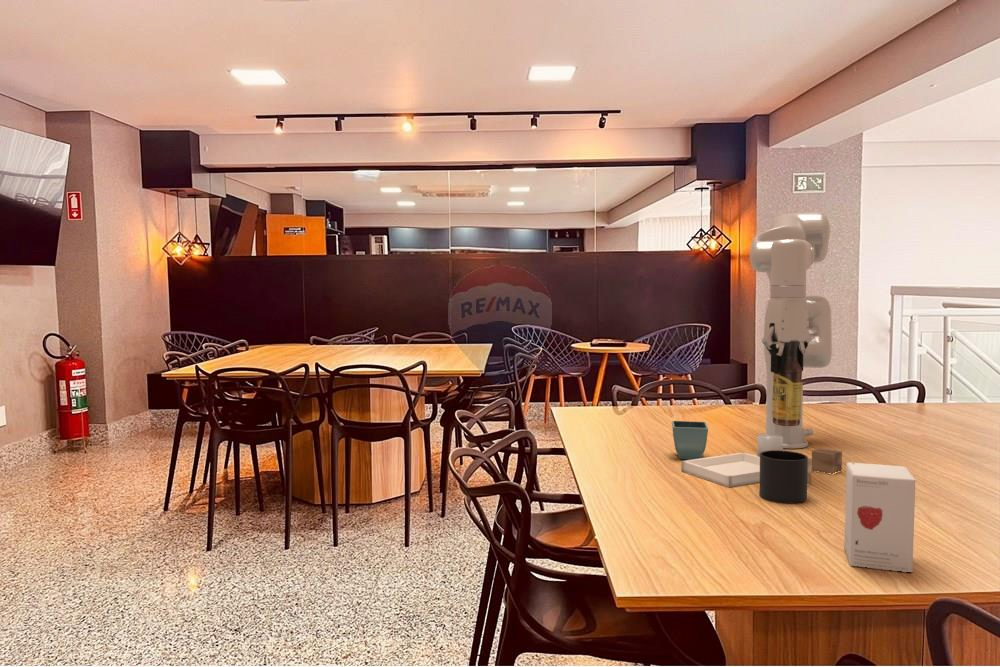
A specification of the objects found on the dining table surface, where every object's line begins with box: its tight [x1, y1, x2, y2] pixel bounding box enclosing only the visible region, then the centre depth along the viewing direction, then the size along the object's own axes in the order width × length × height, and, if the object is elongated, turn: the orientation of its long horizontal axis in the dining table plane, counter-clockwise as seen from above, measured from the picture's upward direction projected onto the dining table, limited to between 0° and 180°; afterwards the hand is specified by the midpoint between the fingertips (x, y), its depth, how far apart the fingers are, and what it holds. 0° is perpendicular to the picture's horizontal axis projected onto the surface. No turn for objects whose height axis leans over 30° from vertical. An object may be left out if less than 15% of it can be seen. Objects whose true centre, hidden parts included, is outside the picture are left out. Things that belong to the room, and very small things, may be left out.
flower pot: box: [671, 420, 709, 460], centre depth 185 cm, size 9×9×9 cm
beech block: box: [807, 456, 812, 485], centre depth 160 cm, size 4×4×6 cm
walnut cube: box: [811, 447, 843, 474], centre depth 170 cm, size 5×5×5 cm
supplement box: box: [843, 461, 916, 573], centre depth 114 cm, size 9×9×15 cm
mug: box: [758, 450, 809, 504], centre depth 150 cm, size 9×12×9 cm
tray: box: [680, 452, 760, 488], centre depth 168 cm, size 20×16×2 cm
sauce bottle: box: [772, 340, 803, 426], centre depth 163 cm, size 6×6×20 cm
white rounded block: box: [756, 433, 784, 457], centre depth 178 cm, size 6×6×7 cm
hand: (786, 370), depth 162 cm, fingers closed on sauce bottle, 5 cm apart
